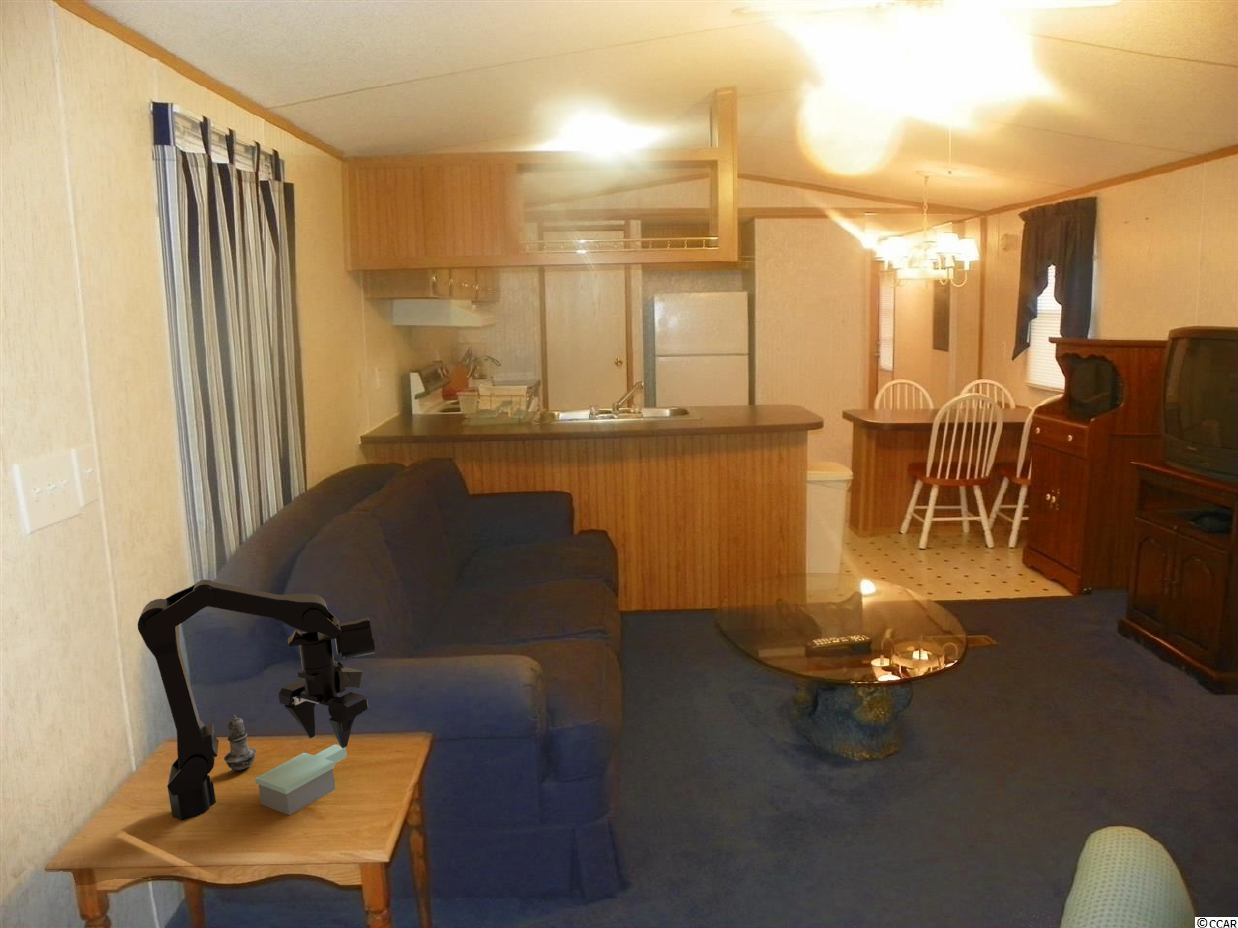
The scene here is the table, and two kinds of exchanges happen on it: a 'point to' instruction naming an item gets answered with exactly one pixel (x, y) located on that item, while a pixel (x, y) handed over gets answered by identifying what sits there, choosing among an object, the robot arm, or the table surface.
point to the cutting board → (301, 769)
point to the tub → (298, 794)
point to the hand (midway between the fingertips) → (328, 741)
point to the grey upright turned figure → (238, 747)
